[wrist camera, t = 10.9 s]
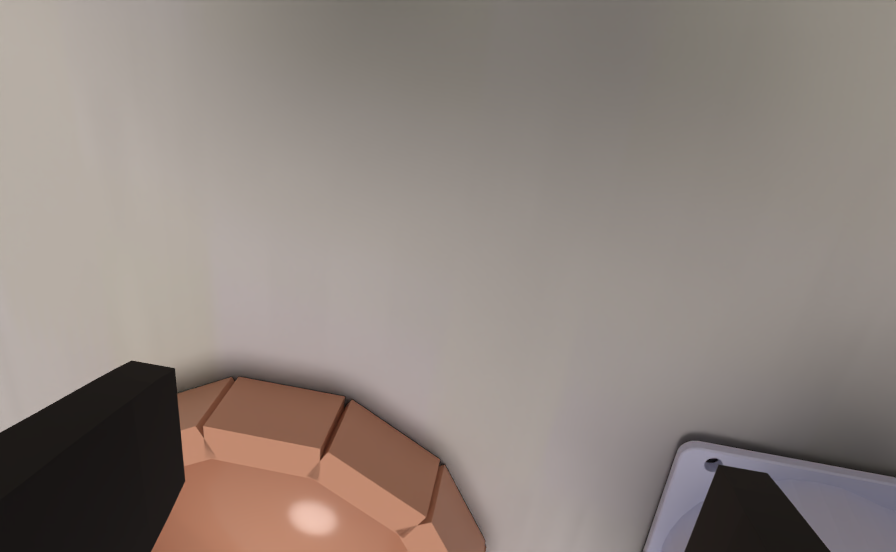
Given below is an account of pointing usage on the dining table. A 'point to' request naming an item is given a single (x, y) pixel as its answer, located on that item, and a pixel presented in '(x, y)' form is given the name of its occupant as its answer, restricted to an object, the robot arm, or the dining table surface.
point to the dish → (306, 478)
